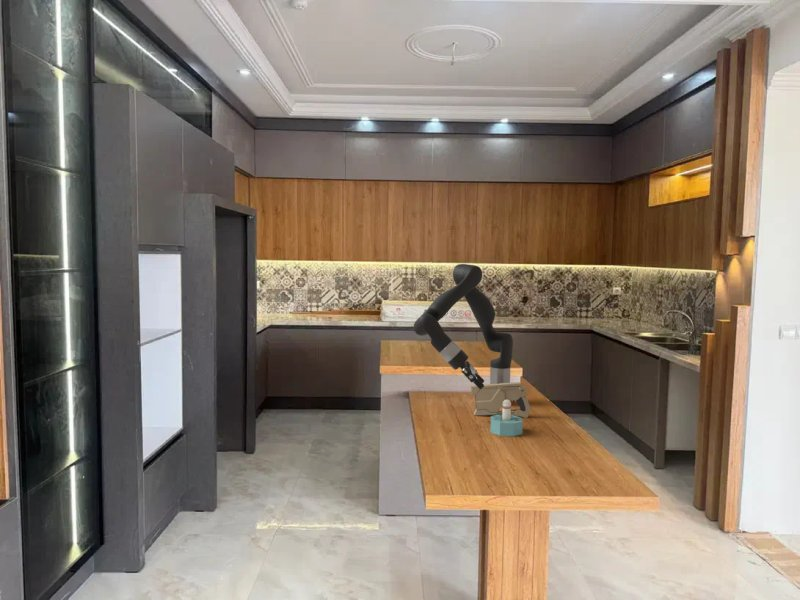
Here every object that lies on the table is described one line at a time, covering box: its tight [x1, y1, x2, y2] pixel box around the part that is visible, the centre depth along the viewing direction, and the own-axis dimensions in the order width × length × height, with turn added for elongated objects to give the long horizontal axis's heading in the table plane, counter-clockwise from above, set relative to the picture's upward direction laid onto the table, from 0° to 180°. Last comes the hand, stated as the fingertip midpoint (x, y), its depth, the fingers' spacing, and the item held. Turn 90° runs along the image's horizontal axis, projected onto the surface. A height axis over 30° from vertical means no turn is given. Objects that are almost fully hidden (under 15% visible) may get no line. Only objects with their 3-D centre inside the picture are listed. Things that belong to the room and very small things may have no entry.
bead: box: [490, 414, 524, 437], centre depth 221 cm, size 12×12×5 cm
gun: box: [470, 381, 532, 419], centre depth 243 cm, size 24×3×15 cm, turn 84°
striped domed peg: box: [501, 399, 512, 421], centre depth 221 cm, size 3×3×13 cm
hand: (482, 385), depth 222 cm, fingers open, 8 cm apart
